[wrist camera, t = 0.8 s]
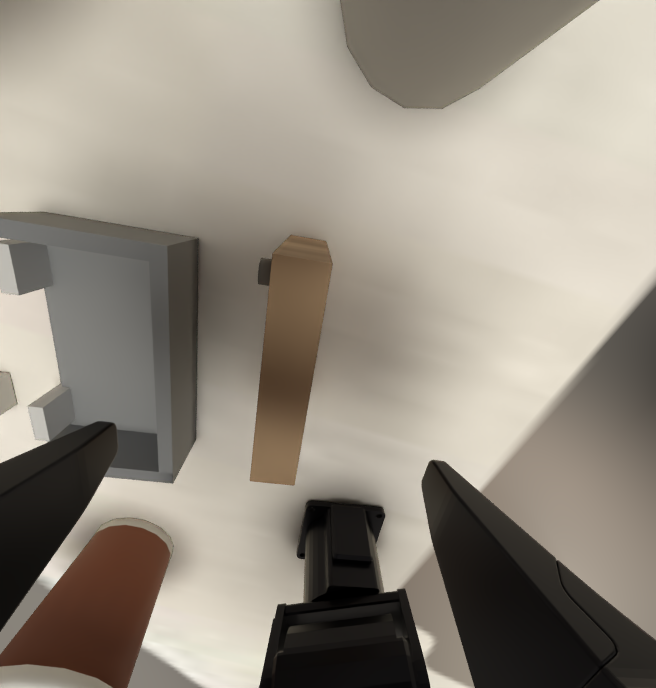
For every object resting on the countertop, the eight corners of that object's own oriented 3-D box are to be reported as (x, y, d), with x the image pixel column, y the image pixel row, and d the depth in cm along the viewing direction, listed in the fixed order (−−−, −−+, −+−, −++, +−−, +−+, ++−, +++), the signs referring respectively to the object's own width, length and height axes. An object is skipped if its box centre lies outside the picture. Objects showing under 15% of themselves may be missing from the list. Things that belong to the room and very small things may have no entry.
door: (302, 391, 22) (294, 485, 14) (263, 386, 22) (236, 479, 14) (326, 241, 18) (332, 263, 11) (280, 233, 18) (253, 250, 10)
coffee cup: (186, 509, 26) (88, 736, 15) (192, 580, 29) (116, 806, 18) (67, 502, 25) (-131, 736, 14) (87, 576, 28) (-57, 809, 17)
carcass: (195, 439, 23) (173, 483, 19) (8, 418, 22) (-55, 461, 18) (198, 238, 18) (167, 245, 14) (-51, 196, 16) (-157, 192, 13)
